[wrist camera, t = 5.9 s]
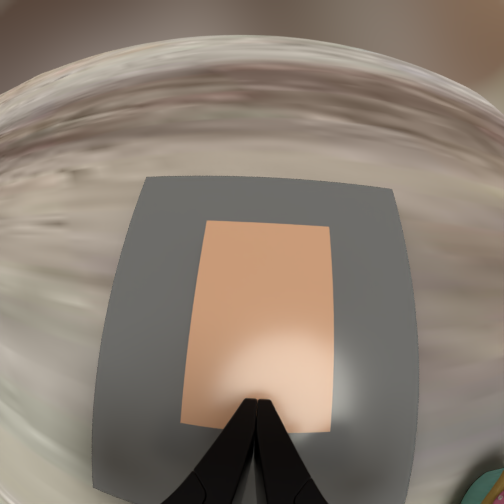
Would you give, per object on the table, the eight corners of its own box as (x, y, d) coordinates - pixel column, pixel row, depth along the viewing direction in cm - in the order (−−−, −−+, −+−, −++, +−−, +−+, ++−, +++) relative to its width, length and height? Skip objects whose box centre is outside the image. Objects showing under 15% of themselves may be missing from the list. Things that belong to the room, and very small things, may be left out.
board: (398, 503, 10) (403, 507, 9) (98, 484, 11) (93, 487, 10) (388, 195, 21) (391, 189, 20) (149, 183, 22) (146, 177, 21)
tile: (330, 431, 10) (328, 226, 15) (180, 422, 11) (206, 220, 16) (318, 424, 13) (320, 247, 18) (192, 417, 13) (212, 241, 18)
